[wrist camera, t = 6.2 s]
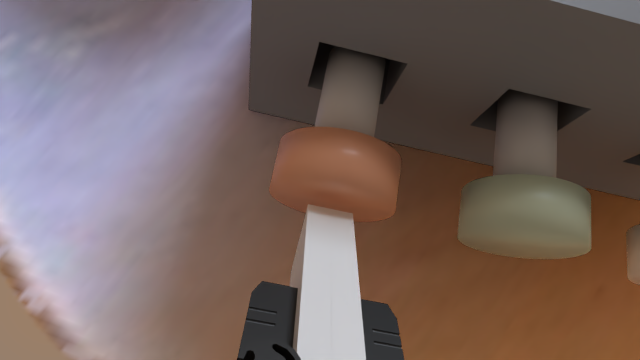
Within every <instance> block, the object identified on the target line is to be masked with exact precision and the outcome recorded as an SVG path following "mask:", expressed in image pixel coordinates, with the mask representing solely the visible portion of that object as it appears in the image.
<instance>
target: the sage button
mask: <svg viewBox="0 0 640 360" xmlns="http://www.w3.org/2000/svg"><path fill="white" fill-rule="evenodd" d="M557 117H558V101H557V100H553V99H549V98H545V97H541V96H537V95H532V94H528V93H524V92H520V91H516V90H510V91H508V92H506V93H504V94H503V95H502V96H501V97H500V98H499V99H498V104H497V120H496V135H495V151H494V166H493V176H488V177H484V178H480V179H476V180H474V181H471V182H469V183H468V184H466V185H465V186H464V187H463V188H462V191H461V202H460V213H459V225H458V236H457V237H458V240H459V241H460V242H461V243H462V244H464V245H466V246H468V247H470V248H473V249H476V250H479V251H483V252H486V253H491V254H496V255H501V256H508V257H516V258H526V259H563V258H571V257H577V256H581V255H584V254H586V253H588V252H589V251H590V250H591V195H590V193H589V192H588V191H587V190H586V189H585V188H583V187H582V186H580V185H578V184H575V183H573V182H570V181H567V180H563V179H559V178H556V171H557Z"/></svg>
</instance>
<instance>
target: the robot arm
mask: <svg viewBox="0 0 640 360" xmlns="http://www.w3.org/2000/svg"><path fill="white" fill-rule="evenodd" d="M401 346H402V345H401V339H400V336H399V328H398V323H397V318H396V317H395V315H394V314H393V312H392V311H391V309H390V308H389V306H388V305H387V304H384V303H378V302H373V301H368V300H363V299H361V298H360V287H359V276H358V265H357V253H356V242H355V231H354V220H353V213H348V212H344V211H339V210H334V209H329V208H324V207H320V206H315V205H310V204H308V206H307V210H306V214H305V218H304V222H303V226H302V230H301V234H300V238H299V242H298V246H297V250H296V254H295V258H294V262H293V266H292V269H291V277H290V286H285V285H279V284H274V283H269V282H264V281H262V282H261V283H260V284H259V285H258V286H257V287H256V288H255V289H254V290H253V291H252V294H251V299H250V303H249V308H248V312H247V317H246V322H245V326H244V331H243V336H242V340H241V345H240V349H239V354H238V358H237V360H404V356H403V351H402V349H401Z"/></svg>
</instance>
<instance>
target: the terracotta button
mask: <svg viewBox="0 0 640 360" xmlns="http://www.w3.org/2000/svg"><path fill="white" fill-rule="evenodd" d="M385 63H386V62H385V58H383V57H379V56H375V55H371V54H367V53H362V52H358V51H354V50H350V49H346V48H342V47H338V46H335V47H334V48H333V49H332V50H331V51H330V53H329V57H328V62H327V67H326V72H325V77H324V82H323V87H322V92H321V97H320V102H319V107H318V112H317V117H316V122H315V127H305V128H299V129H295V130H292V131H290V132H288V133H286V134H285V135H283V137H282V138H281V140H280V143H279V147H278V152H277V156H276V161H275V165H274V169H273V174H272V178H271V183H270V187H269V192H270V194H271V195H272V197H273V198H275V199H276V200H277V201H279V202H280V203H282V204H284V205H286V206H288V207H290V208H293V209H295V210H298V211H301V212H304V213H306V210H307V206H308V204H310V205H315V206H320V207H324V208H329V209H334V210H339V211H344V212H348V213H353V220H354V222H372V221H380V220H384V219H387V218H390V217H392V216H393V215H394V214H395V210H396V203H397V195H398V188H399V180H400V173H401V165H402V159H401V156H400V155H399V153H398V152H397V151H396V150H395V149H394V148H393V147H391V146H390V145H388V144H387V143H385V142H383V141H381V140H379V139H377V138H375V137H374V134H375V128H376V121H377V115H378V108H379V102H380V96H381V89H382V83H383V76H384V70H385Z"/></svg>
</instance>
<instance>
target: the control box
mask: <svg viewBox="0 0 640 360" xmlns="http://www.w3.org/2000/svg"><path fill="white" fill-rule="evenodd" d="M335 46H338V47H342V48H346V49H350V50H354V51H358V52H362V53H367V54H371V55H375V56H379V57H383V58H385V62H386V63H385V70H384V76H383V83H382V89H381V96H380V102H379V108H378V115H377V121H376V128H375V134H374V137H375V138H377V139H379V140H382V141H386V142H390V143H395V144H399V145H403V146H408V147H412V148H416V149H421V150H425V151H429V152H434V153H438V154H442V155H447V156H451V157H455V158H460V159H464V160H468V161H473V162H477V163H481V164H485V165H490V166H494V151H495V135H496V120H497V104H498V99H499V98H500V97H501V96H502V95H503V94H504V93H506V92H508V91H510V90H516V91H520V92H524V93H528V94H532V95H537V96H541V97H545V98H549V99H553V100H557V101H558V117H557V171H556V178H559V179H563V180H567V181H570V182H573V183H575V184H578V185H580V186H582V187H585V188H589V189H593V190H598V191H602V192H606V193H611V194H615V195H619V196H624V197H628V198H632V199H637V200H640V0H252V13H251V48H250V83H249V110H252V111H257V112H261V113H265V114H270V115H274V116H278V117H283V118H287V119H291V120H295V121H300V122H304V123H308V124H313V125H315V122H316V117H317V112H318V107H319V102H320V97H321V92H322V87H323V82H324V77H325V72H326V67H327V62H328V57H329V53H330V51H331V50H332V49H333V48H334V47H335Z"/></svg>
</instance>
